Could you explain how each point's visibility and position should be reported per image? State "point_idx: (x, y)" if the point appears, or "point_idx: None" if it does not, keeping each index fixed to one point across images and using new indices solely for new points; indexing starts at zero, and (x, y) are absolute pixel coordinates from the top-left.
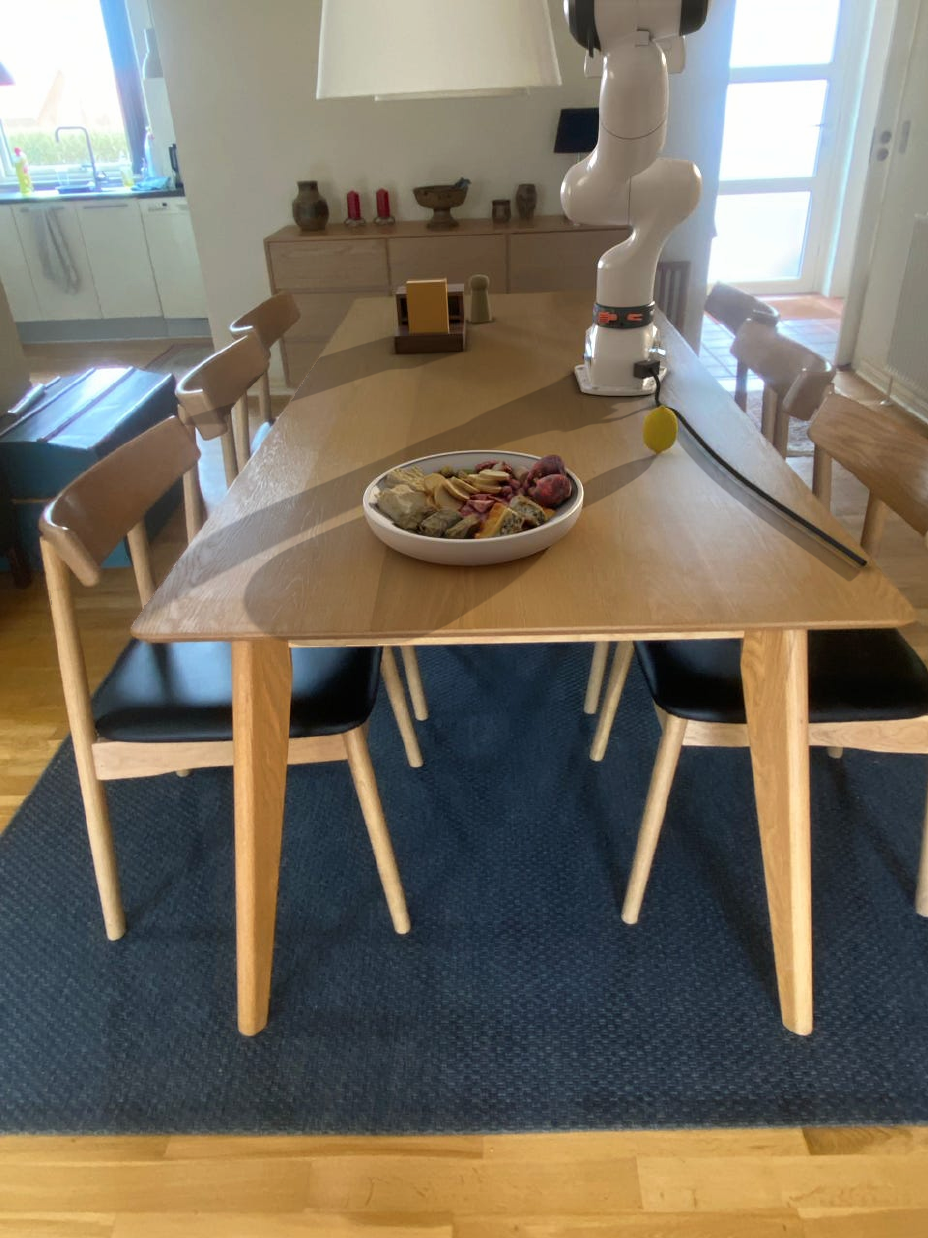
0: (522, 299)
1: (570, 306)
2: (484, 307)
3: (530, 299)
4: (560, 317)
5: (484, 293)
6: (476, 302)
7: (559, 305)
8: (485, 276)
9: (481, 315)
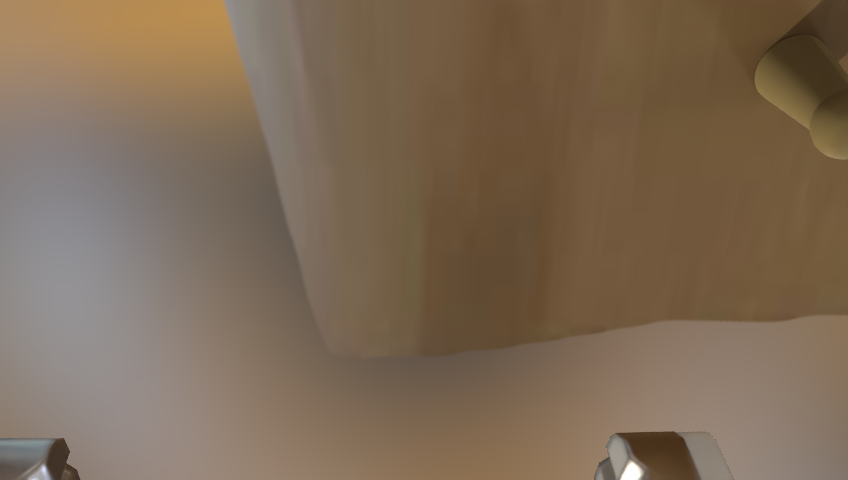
0: (627, 281)
1: (504, 210)
2: (803, 65)
3: (606, 280)
4: (543, 91)
5: (821, 91)
6: (837, 68)
7: (534, 221)
8: (838, 131)
9: (804, 47)
